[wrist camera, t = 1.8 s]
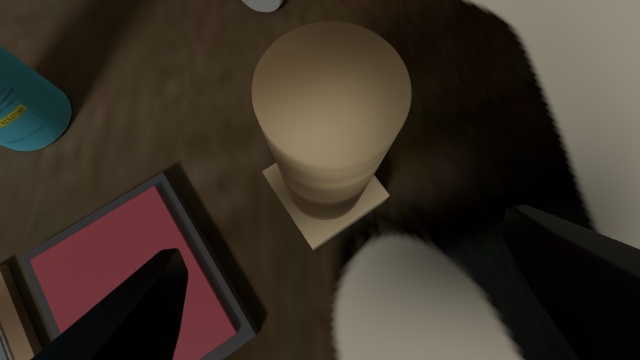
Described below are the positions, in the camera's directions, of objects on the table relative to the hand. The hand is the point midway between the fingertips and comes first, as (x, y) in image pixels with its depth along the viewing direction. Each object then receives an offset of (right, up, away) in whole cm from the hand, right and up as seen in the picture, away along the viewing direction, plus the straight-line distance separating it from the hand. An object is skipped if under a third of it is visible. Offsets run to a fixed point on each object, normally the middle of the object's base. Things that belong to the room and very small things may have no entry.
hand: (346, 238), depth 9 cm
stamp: (0, +1, +11) cm, 11 cm away
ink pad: (-11, -5, +10) cm, 15 cm away
